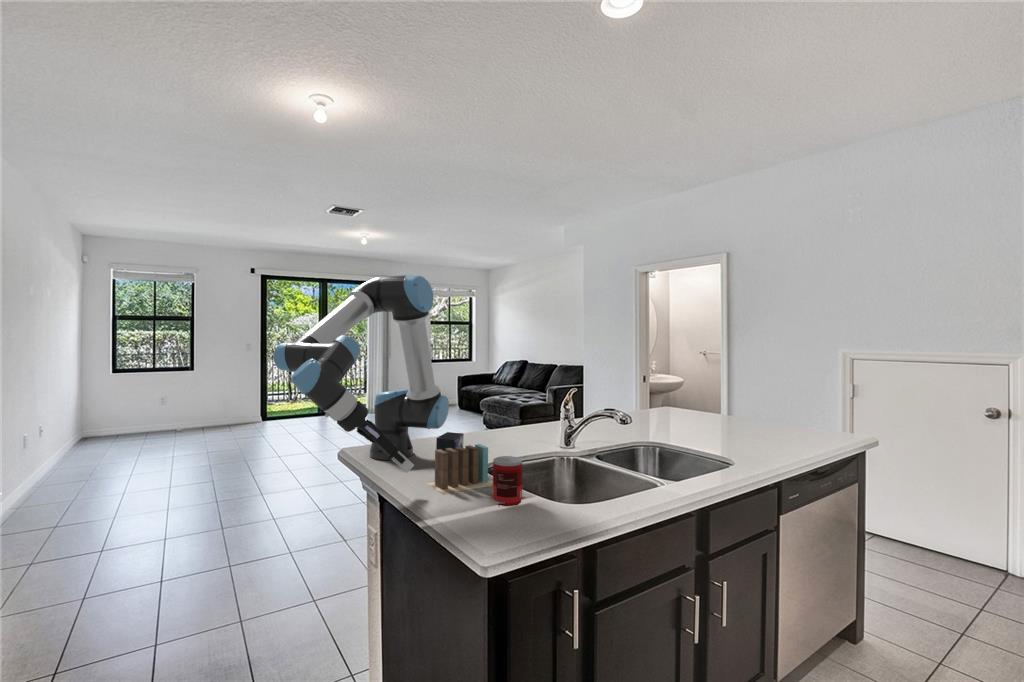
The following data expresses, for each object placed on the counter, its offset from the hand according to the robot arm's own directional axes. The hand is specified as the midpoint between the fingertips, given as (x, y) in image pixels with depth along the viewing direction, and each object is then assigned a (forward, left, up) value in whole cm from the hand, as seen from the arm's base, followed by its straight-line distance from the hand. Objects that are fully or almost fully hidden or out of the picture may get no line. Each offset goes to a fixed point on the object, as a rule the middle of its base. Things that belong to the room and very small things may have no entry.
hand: (409, 468), depth 131 cm
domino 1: (0, +9, -7) cm, 11 cm away
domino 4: (0, +19, -7) cm, 20 cm away
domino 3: (0, +16, -7) cm, 17 cm away
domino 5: (0, +22, -7) cm, 23 cm away
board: (0, +16, -8) cm, 17 cm away
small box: (-21, +22, -8) cm, 32 cm away
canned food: (+17, +20, -8) cm, 28 cm away
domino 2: (0, +12, -7) cm, 14 cm away
